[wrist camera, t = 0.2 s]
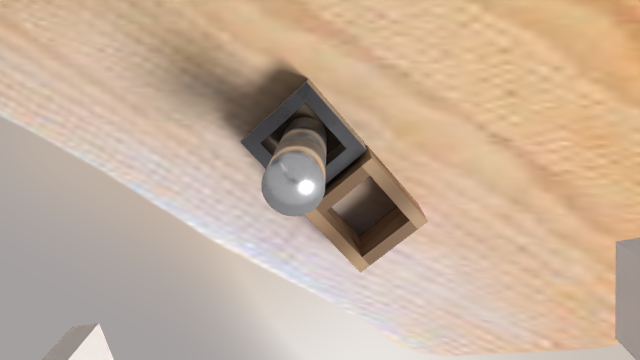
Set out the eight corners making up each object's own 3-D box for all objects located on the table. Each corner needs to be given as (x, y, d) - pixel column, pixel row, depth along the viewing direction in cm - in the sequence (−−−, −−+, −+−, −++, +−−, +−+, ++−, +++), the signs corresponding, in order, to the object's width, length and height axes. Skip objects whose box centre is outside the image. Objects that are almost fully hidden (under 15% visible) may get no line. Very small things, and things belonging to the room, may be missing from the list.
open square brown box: (306, 196, 39) (304, 213, 35) (367, 145, 37) (371, 158, 33) (357, 250, 40) (360, 272, 36) (417, 203, 39) (427, 221, 35)
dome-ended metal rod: (275, 136, 37) (248, 183, 25) (307, 107, 36) (295, 142, 24) (304, 166, 38) (291, 227, 25) (335, 139, 37) (338, 189, 25)
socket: (247, 134, 37) (240, 142, 34) (308, 78, 35) (306, 81, 33) (302, 192, 39) (300, 205, 36) (363, 141, 37) (366, 150, 34)
